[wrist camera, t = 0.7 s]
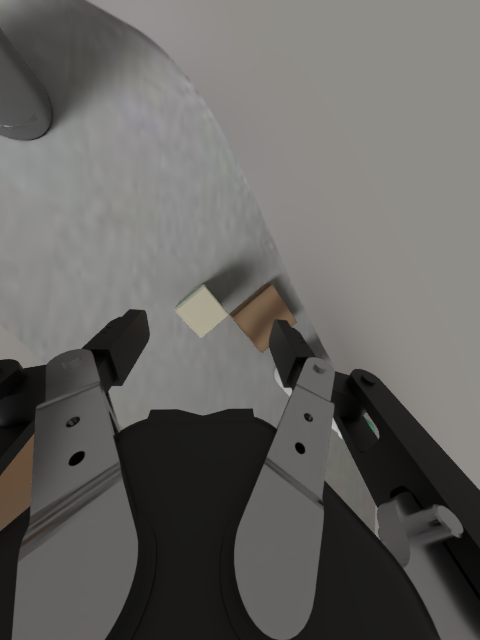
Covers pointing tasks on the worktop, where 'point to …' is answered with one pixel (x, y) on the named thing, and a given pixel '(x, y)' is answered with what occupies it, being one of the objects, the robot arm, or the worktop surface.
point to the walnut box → (261, 315)
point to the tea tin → (201, 310)
